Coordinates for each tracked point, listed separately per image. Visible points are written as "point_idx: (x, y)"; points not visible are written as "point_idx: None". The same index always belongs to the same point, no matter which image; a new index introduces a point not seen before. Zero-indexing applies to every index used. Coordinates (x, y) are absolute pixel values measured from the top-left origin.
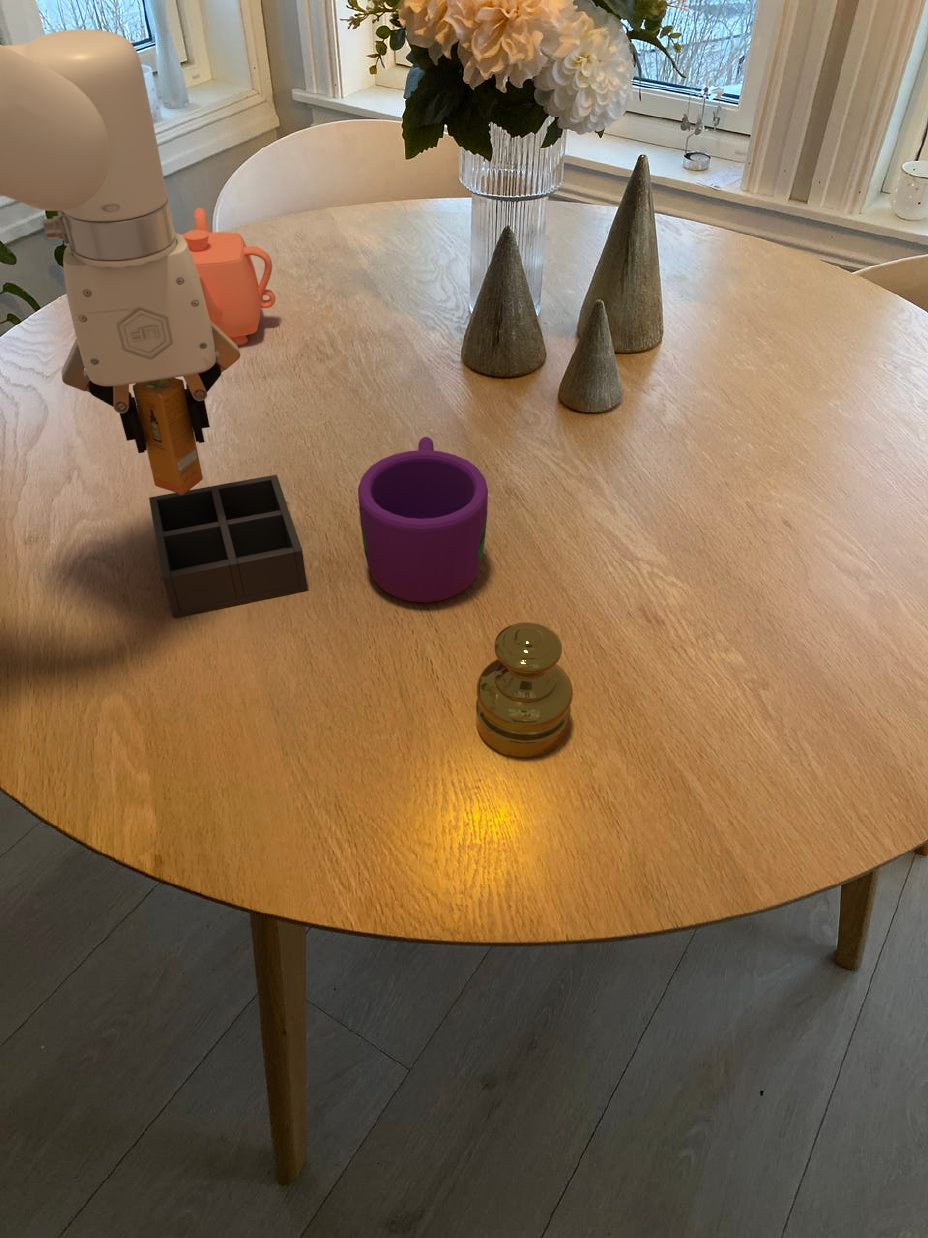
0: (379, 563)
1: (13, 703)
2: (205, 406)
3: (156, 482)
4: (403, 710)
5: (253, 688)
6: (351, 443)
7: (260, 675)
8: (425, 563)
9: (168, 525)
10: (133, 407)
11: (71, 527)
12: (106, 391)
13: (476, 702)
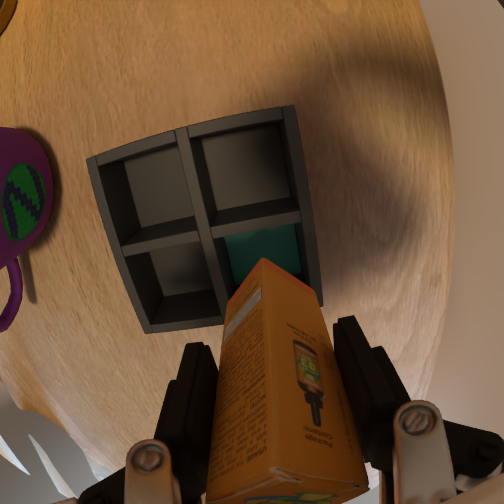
0: (14, 142)
1: (428, 36)
2: (157, 424)
3: (311, 290)
4: (54, 4)
5: (181, 3)
6: (117, 387)
7: (173, 18)
8: None
9: (298, 278)
10: (373, 426)
11: (401, 298)
12: (461, 456)
13: (2, 8)
